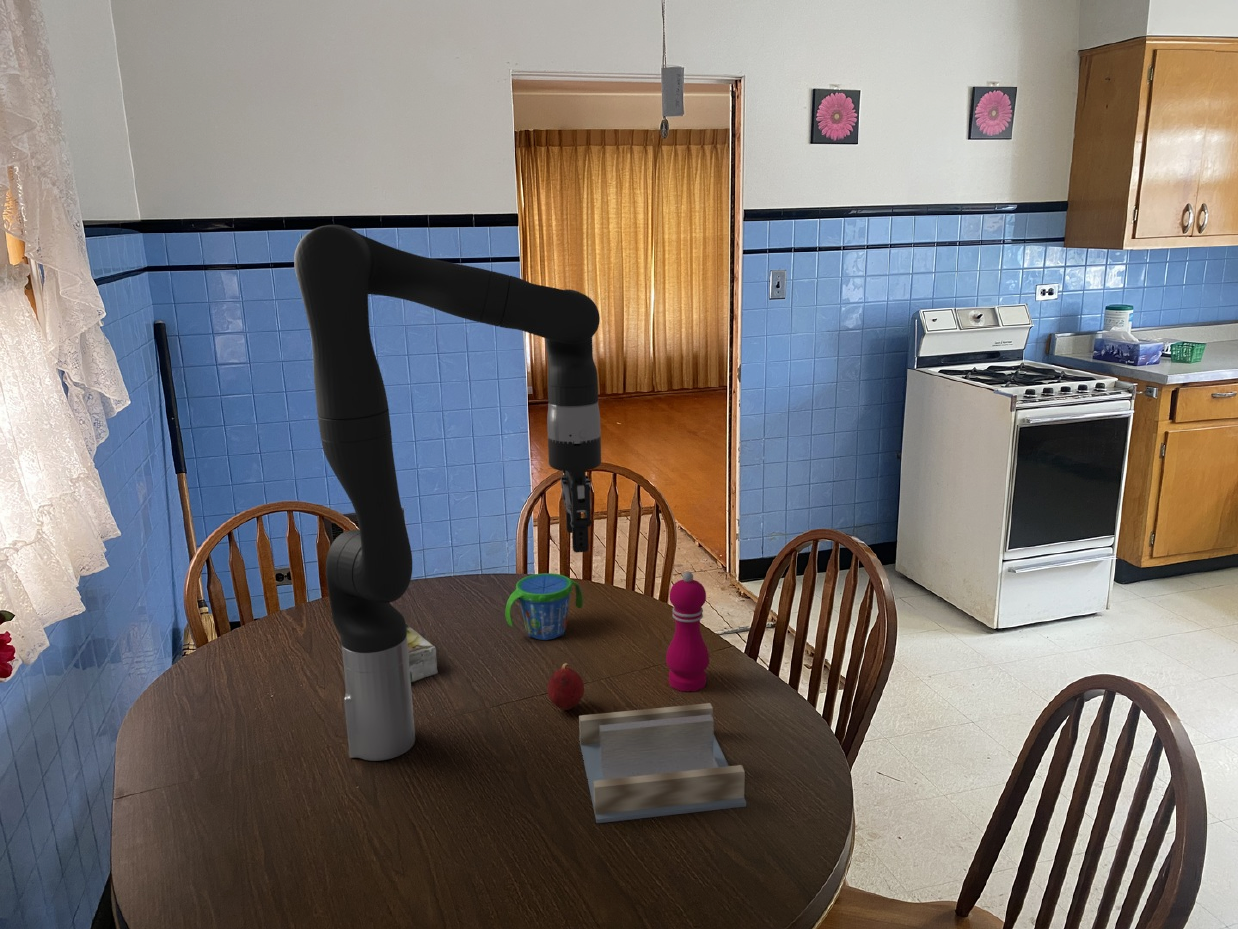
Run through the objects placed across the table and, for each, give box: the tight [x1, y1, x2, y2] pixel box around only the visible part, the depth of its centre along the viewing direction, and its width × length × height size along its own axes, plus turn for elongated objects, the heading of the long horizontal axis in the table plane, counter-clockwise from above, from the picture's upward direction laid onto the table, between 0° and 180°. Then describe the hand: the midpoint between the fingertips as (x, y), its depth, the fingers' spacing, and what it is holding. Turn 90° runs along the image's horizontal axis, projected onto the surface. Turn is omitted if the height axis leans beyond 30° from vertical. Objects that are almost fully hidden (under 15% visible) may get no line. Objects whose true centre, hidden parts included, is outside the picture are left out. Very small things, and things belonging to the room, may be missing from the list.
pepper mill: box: [665, 571, 710, 693], centre depth 149 cm, size 7×7×20 cm
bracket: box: [599, 715, 718, 780], centre depth 124 cm, size 16×6×7 cm, turn 99°
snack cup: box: [504, 572, 584, 641], centre depth 170 cm, size 16×10×10 cm
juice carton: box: [406, 623, 438, 683], centre depth 160 cm, size 20×10×6 cm, turn 39°
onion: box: [547, 662, 585, 711], centre depth 143 cm, size 6×6×8 cm
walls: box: [578, 702, 746, 815], centre depth 127 cm, size 20×18×4 cm
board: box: [578, 735, 747, 824], centre depth 127 cm, size 20×20×1 cm
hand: (577, 541), depth 132 cm, fingers open, 8 cm apart
